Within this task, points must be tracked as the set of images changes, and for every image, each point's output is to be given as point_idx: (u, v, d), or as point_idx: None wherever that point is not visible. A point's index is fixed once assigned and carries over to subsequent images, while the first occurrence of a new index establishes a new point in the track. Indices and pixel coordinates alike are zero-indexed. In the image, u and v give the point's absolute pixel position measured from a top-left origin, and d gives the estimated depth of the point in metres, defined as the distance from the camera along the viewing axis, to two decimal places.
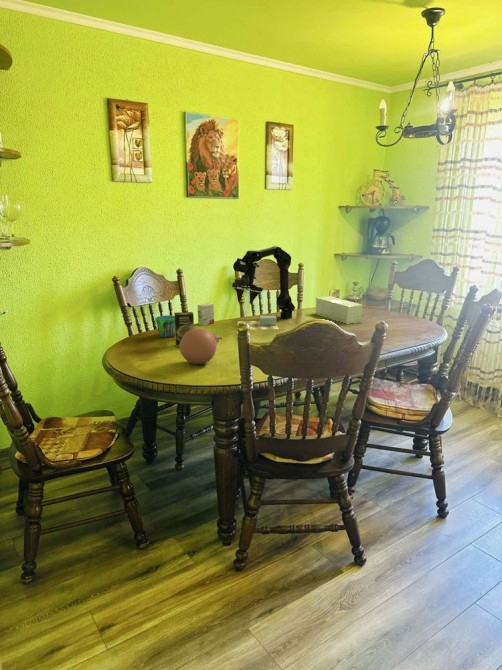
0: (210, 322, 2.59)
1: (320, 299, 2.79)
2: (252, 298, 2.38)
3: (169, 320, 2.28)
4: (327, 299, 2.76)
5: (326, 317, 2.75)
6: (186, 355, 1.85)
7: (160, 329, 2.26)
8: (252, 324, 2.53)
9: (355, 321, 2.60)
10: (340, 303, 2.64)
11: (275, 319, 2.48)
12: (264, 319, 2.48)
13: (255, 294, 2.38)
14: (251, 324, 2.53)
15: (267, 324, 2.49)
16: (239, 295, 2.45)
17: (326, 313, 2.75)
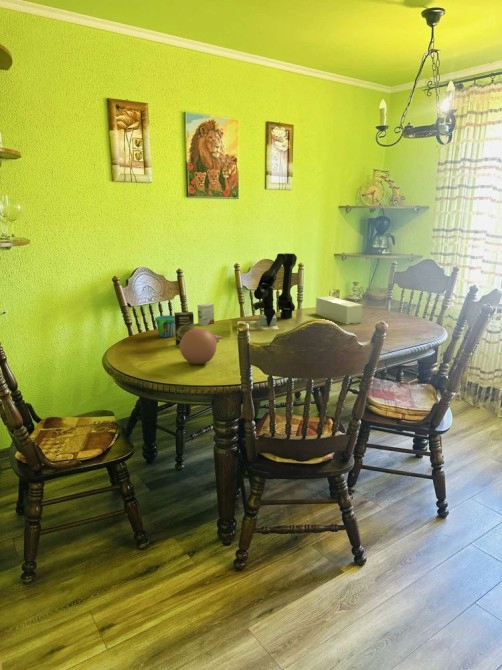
0: (210, 322, 2.59)
1: (320, 299, 2.79)
2: (268, 320, 2.47)
3: (169, 320, 2.28)
4: (327, 299, 2.76)
5: (326, 317, 2.75)
6: (186, 355, 1.85)
7: (160, 329, 2.26)
8: (252, 324, 2.53)
9: (355, 321, 2.60)
10: (340, 303, 2.64)
11: (275, 319, 2.48)
12: (264, 319, 2.48)
13: (270, 316, 2.46)
14: (251, 324, 2.53)
15: None
16: None
17: (326, 313, 2.75)
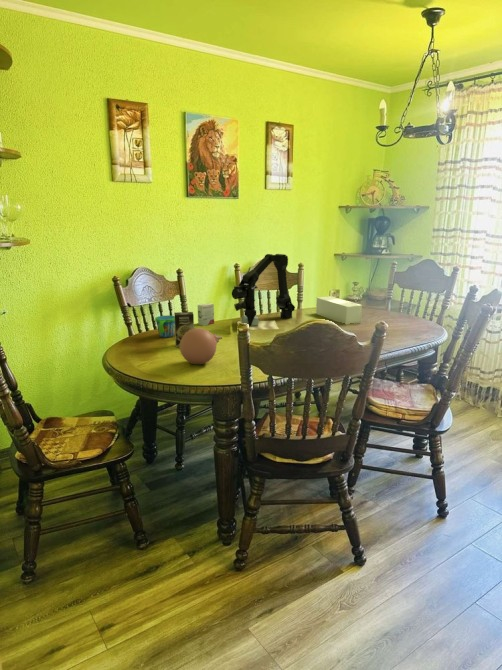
0: (210, 322, 2.59)
1: (320, 299, 2.79)
2: (249, 320, 2.46)
3: (169, 320, 2.28)
4: (327, 299, 2.76)
5: (326, 317, 2.75)
6: (186, 355, 1.85)
7: (160, 329, 2.26)
8: None
9: (354, 321, 2.60)
10: (340, 303, 2.64)
11: (257, 319, 2.48)
12: (246, 319, 2.47)
13: (252, 316, 2.45)
14: None
15: None
16: None
17: (326, 313, 2.75)
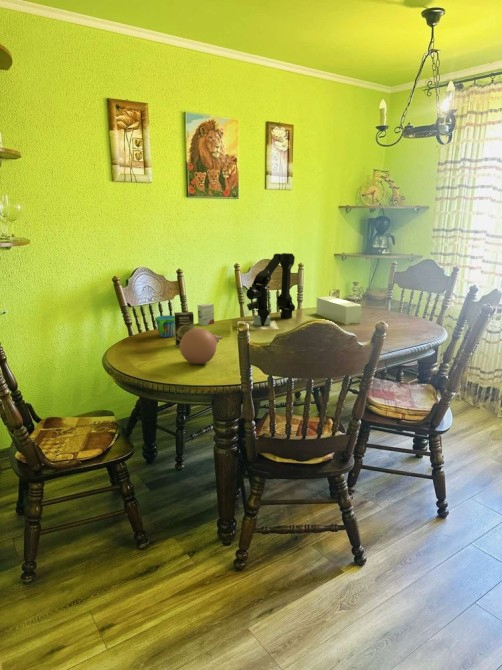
0: (210, 322, 2.59)
1: (320, 299, 2.79)
2: (262, 320, 2.47)
3: (169, 320, 2.28)
4: (327, 299, 2.76)
5: (326, 317, 2.75)
6: (186, 355, 1.85)
7: (160, 329, 2.26)
8: (252, 324, 2.53)
9: (354, 321, 2.60)
10: (339, 303, 2.64)
11: (269, 319, 2.48)
12: (258, 319, 2.48)
13: (264, 316, 2.46)
14: (251, 324, 2.53)
15: None
16: None
17: (326, 313, 2.75)
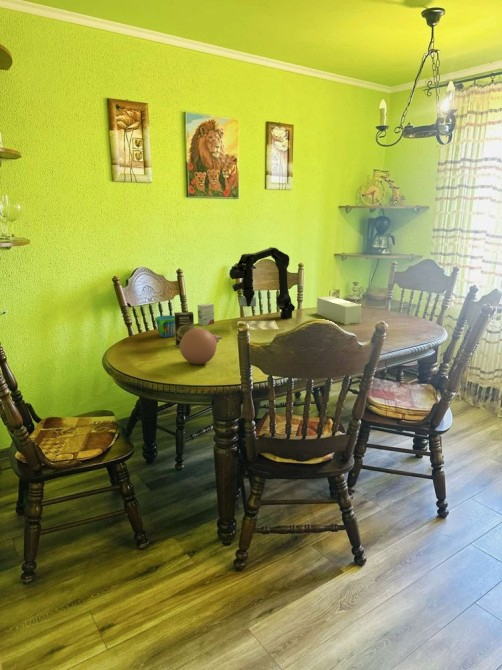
0: (210, 322, 2.59)
1: (321, 299, 2.79)
2: (248, 301, 2.44)
3: (169, 320, 2.28)
4: (327, 299, 2.76)
5: (326, 317, 2.75)
6: (186, 355, 1.85)
7: (160, 329, 2.26)
8: (252, 324, 2.53)
9: (354, 321, 2.59)
10: (339, 303, 2.63)
11: (254, 299, 2.45)
12: (243, 299, 2.45)
13: (250, 297, 2.43)
14: (251, 324, 2.53)
15: (246, 304, 2.46)
16: None
17: (326, 313, 2.75)
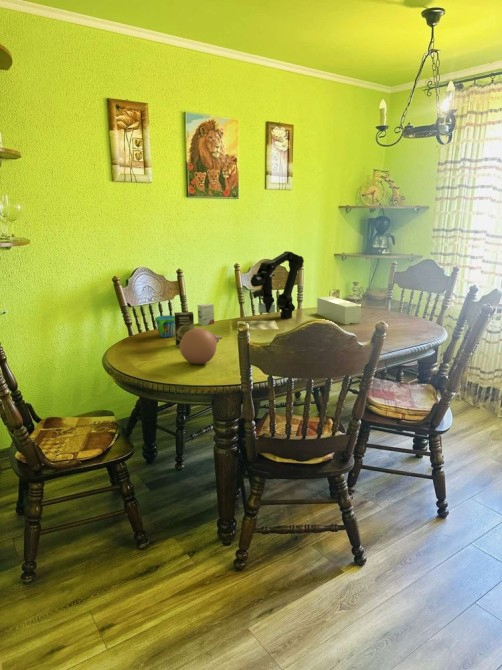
0: (210, 322, 2.59)
1: (321, 299, 2.79)
2: (267, 308, 2.51)
3: (169, 320, 2.28)
4: (327, 299, 2.76)
5: (326, 317, 2.75)
6: (186, 355, 1.85)
7: (160, 329, 2.26)
8: (252, 324, 2.53)
9: (353, 321, 2.59)
10: (339, 303, 2.63)
11: (274, 306, 2.53)
12: (263, 306, 2.52)
13: (269, 304, 2.50)
14: (251, 324, 2.53)
15: None
16: None
17: (326, 313, 2.75)
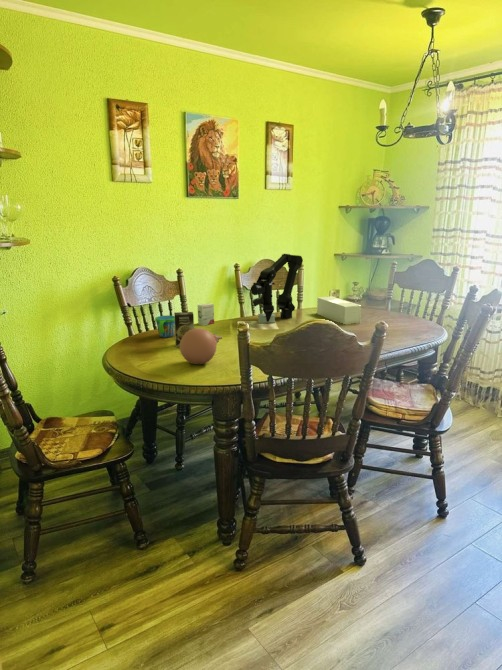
0: (210, 322, 2.59)
1: (321, 299, 2.79)
2: (267, 316, 2.51)
3: (169, 320, 2.28)
4: (328, 299, 2.76)
5: (326, 317, 2.75)
6: (186, 355, 1.85)
7: (160, 329, 2.26)
8: (252, 324, 2.53)
9: (353, 322, 2.59)
10: (339, 303, 2.63)
11: (273, 317, 2.54)
12: (263, 317, 2.54)
13: (269, 312, 2.50)
14: (251, 324, 2.53)
15: (266, 321, 2.55)
16: None
17: (326, 313, 2.75)
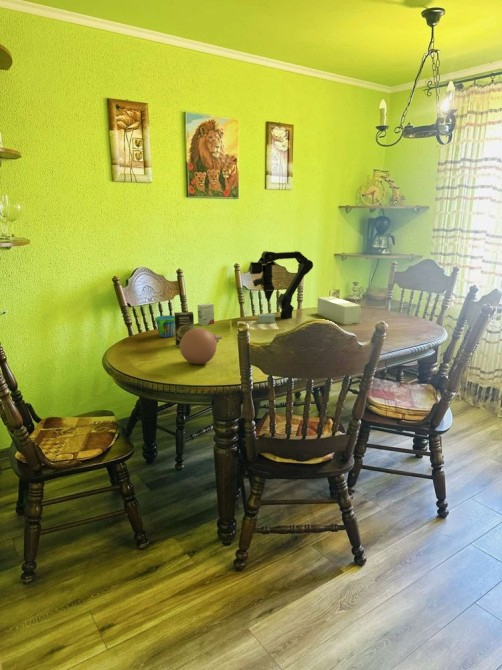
0: (210, 322, 2.59)
1: (321, 299, 2.79)
2: (267, 296, 2.56)
3: (169, 320, 2.28)
4: (328, 299, 2.76)
5: (326, 317, 2.75)
6: (186, 355, 1.85)
7: (160, 329, 2.26)
8: (252, 324, 2.53)
9: (353, 322, 2.59)
10: (339, 303, 2.63)
11: (273, 317, 2.54)
12: (263, 317, 2.54)
13: (270, 292, 2.55)
14: (251, 324, 2.53)
15: (266, 321, 2.55)
16: (265, 293, 2.66)
17: (326, 313, 2.75)
